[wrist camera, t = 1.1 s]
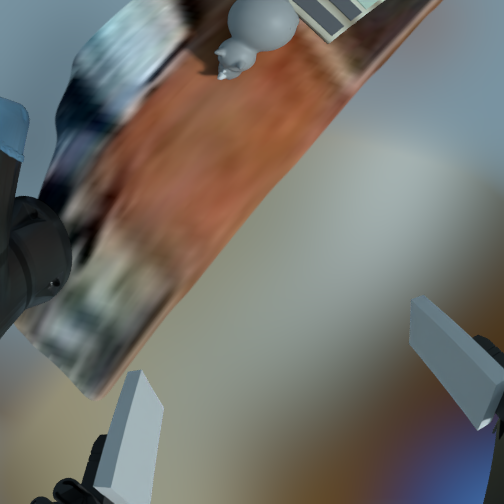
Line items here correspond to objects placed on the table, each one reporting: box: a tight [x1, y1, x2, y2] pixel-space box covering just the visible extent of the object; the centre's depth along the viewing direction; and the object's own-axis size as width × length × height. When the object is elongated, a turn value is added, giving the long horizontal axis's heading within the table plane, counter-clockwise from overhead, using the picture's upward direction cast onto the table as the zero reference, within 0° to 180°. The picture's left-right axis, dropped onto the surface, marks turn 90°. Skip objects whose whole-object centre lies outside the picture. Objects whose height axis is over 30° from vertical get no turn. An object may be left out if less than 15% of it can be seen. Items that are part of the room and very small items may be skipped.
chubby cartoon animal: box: [215, 0, 299, 80], centre depth 28 cm, size 7×12×8 cm, turn 143°
